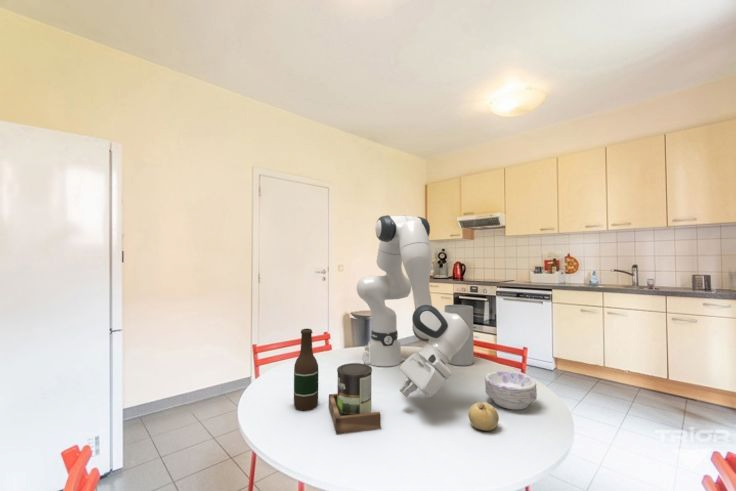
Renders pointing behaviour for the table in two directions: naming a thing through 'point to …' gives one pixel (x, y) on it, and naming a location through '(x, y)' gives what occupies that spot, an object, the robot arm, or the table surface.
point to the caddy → (352, 419)
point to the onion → (483, 416)
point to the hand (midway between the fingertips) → (402, 393)
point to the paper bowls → (510, 389)
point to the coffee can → (354, 389)
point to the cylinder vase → (467, 351)
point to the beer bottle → (306, 375)
